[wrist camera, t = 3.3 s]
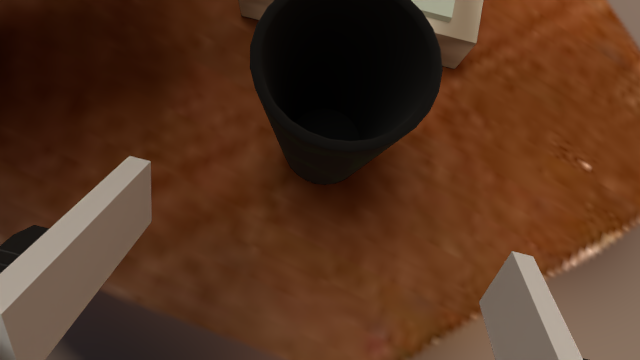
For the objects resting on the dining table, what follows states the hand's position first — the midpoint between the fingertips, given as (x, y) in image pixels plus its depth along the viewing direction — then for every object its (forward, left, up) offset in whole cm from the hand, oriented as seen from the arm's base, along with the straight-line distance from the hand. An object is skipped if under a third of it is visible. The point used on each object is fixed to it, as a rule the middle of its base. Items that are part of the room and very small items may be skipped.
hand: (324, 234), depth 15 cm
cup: (-1, +7, -12) cm, 14 cm away
